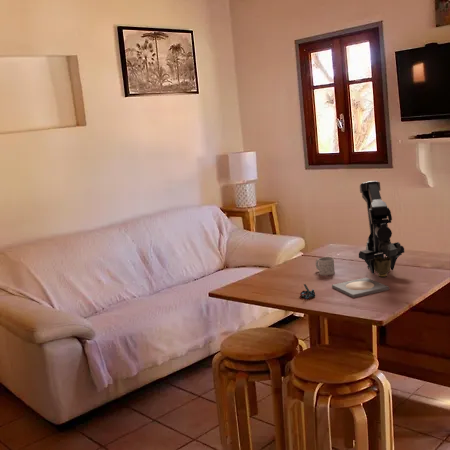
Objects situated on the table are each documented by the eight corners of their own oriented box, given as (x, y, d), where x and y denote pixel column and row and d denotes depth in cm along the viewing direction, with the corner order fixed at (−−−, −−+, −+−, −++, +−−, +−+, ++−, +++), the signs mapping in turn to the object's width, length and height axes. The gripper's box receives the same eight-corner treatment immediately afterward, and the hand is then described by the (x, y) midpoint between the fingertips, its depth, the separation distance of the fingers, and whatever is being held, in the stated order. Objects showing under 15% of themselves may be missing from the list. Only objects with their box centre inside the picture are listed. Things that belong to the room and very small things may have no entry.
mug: (337, 273, 257) (336, 258, 256) (326, 276, 253) (325, 261, 252) (322, 269, 265) (321, 255, 264) (311, 272, 262) (310, 258, 260)
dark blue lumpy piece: (321, 293, 225) (305, 281, 227) (310, 308, 224) (294, 296, 226) (321, 296, 232) (305, 285, 235) (310, 311, 231) (295, 299, 234)
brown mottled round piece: (393, 274, 246) (392, 255, 245) (390, 279, 240) (389, 260, 238) (375, 274, 249) (374, 255, 248) (372, 279, 243) (371, 260, 241)
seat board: (332, 287, 237) (331, 284, 237) (366, 280, 242) (366, 277, 242) (353, 297, 222) (353, 294, 222) (389, 289, 227) (389, 286, 227)
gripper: (372, 242, 231) (374, 280, 234) (411, 234, 237) (413, 272, 239) (356, 238, 241) (359, 274, 244) (395, 230, 247) (397, 266, 250)
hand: (382, 272), depth 244 cm, fingers open, 9 cm apart
